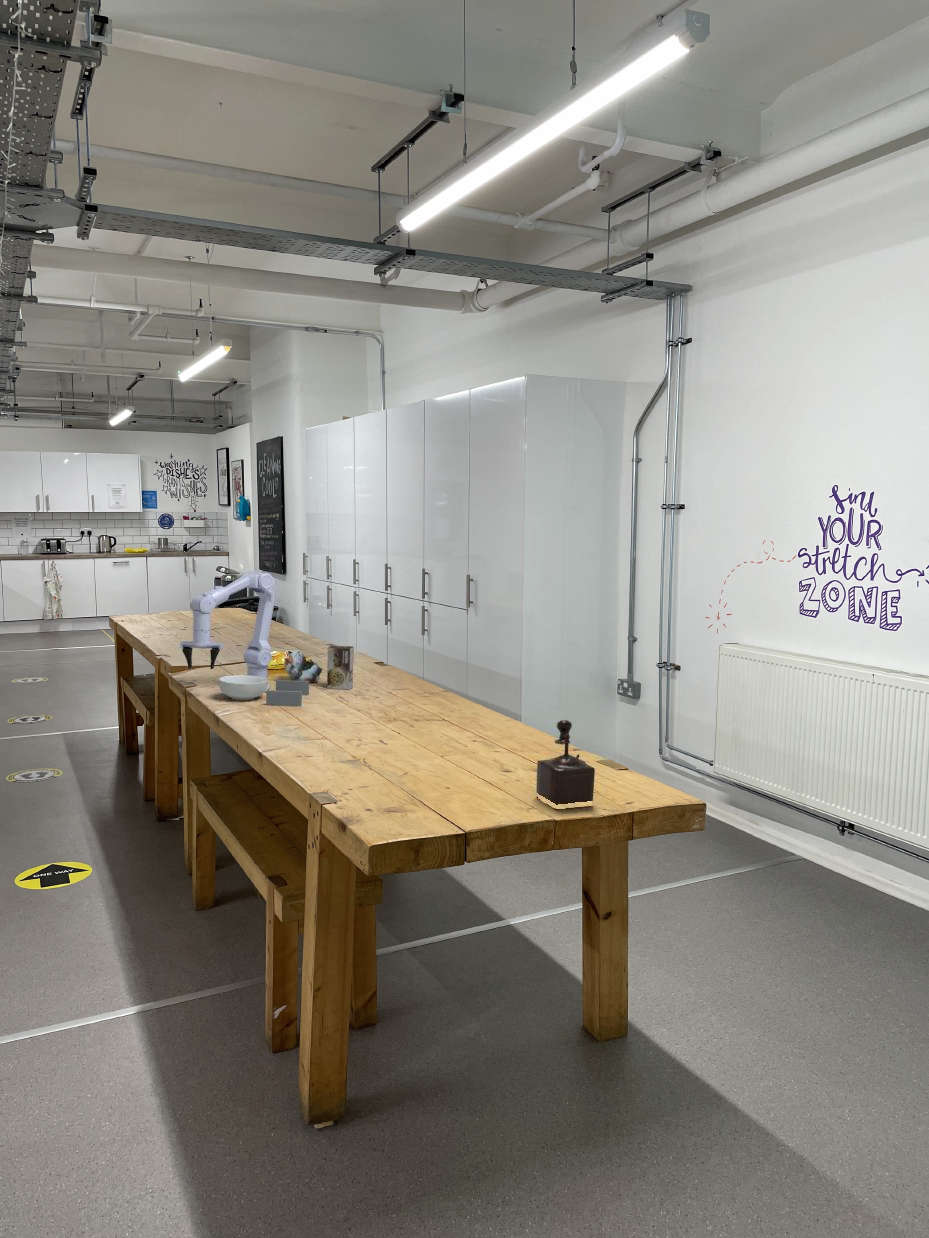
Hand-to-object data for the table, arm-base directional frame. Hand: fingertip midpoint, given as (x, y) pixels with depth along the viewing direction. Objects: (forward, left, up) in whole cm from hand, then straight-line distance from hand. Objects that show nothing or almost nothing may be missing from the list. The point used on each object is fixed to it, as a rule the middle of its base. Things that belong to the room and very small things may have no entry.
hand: (201, 668), depth 311 cm
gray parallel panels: (-1, +31, -10) cm, 32 cm away
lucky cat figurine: (-39, +31, -11) cm, 51 cm away
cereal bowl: (-1, +15, -11) cm, 18 cm away
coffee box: (-27, +47, -11) cm, 55 cm away
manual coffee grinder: (+106, +112, -11) cm, 154 cm away
